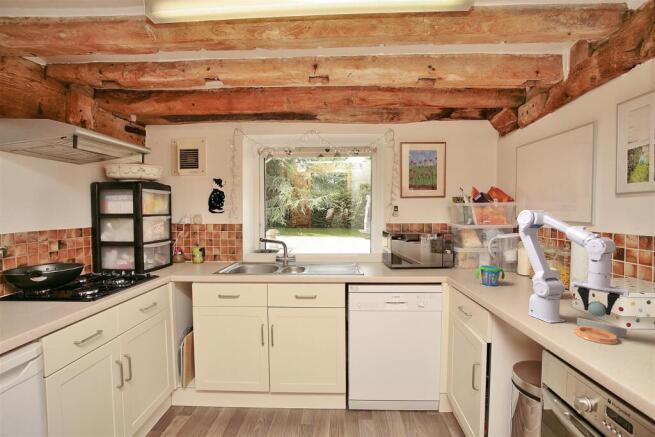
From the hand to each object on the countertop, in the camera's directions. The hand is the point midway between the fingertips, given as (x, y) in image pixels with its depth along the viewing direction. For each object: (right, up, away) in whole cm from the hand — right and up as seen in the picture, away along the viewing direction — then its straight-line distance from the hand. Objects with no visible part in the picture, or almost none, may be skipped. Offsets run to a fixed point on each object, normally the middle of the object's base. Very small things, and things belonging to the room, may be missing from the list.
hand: (597, 312), depth 100 cm
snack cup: (+1, -6, +67) cm, 67 cm away
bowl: (-1, -8, 0) cm, 8 cm away
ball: (0, +1, 0) cm, 1 cm away
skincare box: (+16, -7, +44) cm, 48 cm away
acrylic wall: (+6, -8, +5) cm, 11 cm away
